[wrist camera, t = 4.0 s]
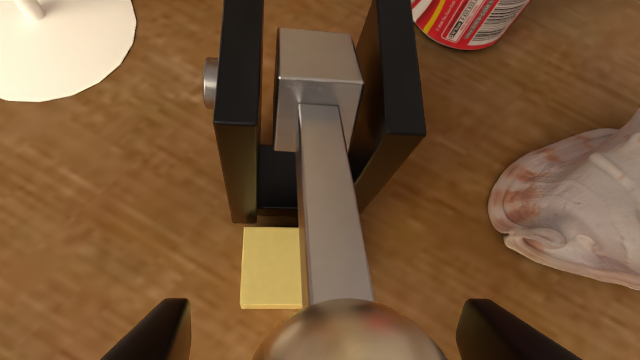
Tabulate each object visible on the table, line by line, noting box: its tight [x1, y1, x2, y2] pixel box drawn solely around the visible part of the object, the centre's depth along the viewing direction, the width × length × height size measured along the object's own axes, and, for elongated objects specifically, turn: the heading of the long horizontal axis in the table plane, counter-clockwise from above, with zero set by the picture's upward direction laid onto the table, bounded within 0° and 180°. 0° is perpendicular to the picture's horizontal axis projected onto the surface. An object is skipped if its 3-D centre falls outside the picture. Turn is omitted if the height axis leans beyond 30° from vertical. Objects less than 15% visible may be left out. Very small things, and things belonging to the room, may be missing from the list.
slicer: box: [203, 0, 426, 224], centre depth 15 cm, size 4×6×10 cm
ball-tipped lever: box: [252, 28, 447, 360], centre depth 9 cm, size 12×3×3 cm, turn 1°
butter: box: [240, 226, 302, 309], centre depth 17 cm, size 3×4×2 cm
